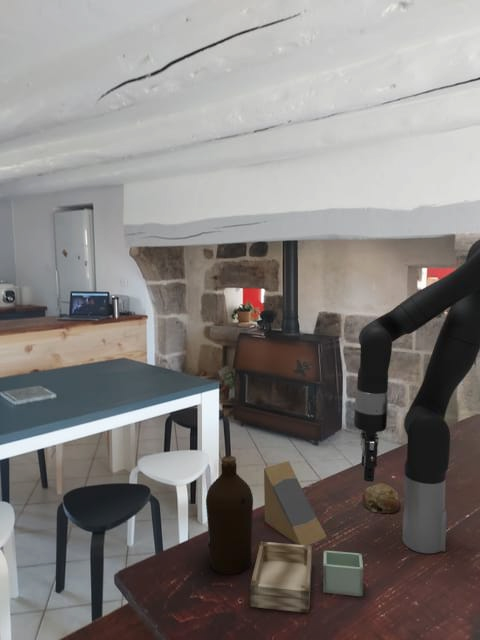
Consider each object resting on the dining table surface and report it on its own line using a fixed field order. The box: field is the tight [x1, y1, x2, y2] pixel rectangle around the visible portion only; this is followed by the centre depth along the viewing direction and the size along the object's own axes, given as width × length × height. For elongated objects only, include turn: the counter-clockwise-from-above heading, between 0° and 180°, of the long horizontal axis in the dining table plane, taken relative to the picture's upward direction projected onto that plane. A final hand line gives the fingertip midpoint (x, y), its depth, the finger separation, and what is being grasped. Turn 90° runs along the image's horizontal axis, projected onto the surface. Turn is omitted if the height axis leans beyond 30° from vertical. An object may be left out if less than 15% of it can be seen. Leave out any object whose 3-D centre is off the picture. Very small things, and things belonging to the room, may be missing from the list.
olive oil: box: [205, 455, 254, 576], centre depth 113 cm, size 11×11×25 cm
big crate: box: [249, 541, 313, 614], centre depth 106 cm, size 12×16×5 cm
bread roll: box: [362, 482, 400, 514], centre depth 139 cm, size 10×10×8 cm
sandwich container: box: [263, 460, 327, 546], centre depth 127 cm, size 9×15×15 cm, turn 35°
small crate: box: [322, 550, 364, 597], centre depth 105 cm, size 8×6×6 cm
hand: (367, 473), depth 121 cm, fingers open, 8 cm apart
